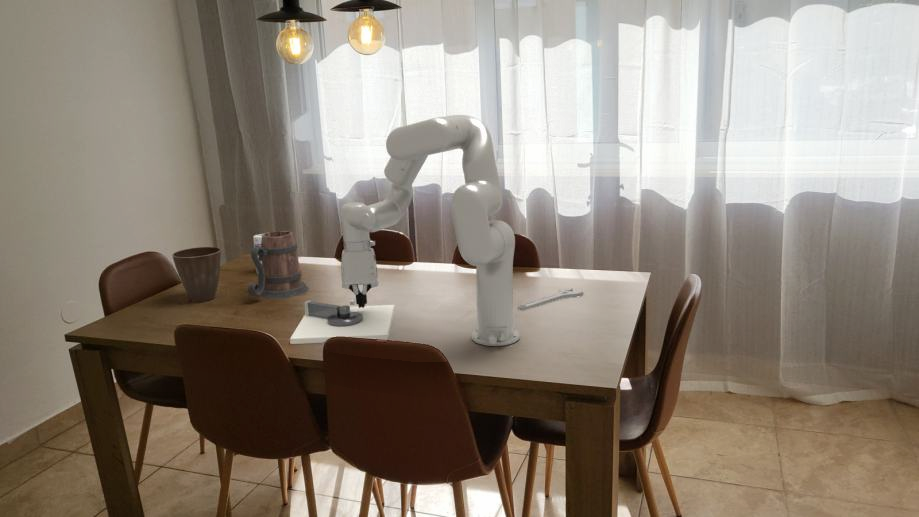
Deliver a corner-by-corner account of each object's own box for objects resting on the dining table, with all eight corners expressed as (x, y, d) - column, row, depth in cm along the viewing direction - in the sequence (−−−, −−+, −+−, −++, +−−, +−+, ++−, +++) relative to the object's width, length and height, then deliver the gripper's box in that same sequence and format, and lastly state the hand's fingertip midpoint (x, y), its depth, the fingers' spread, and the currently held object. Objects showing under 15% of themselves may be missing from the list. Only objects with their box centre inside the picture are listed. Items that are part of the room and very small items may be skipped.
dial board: (387, 340, 188) (386, 331, 188) (290, 344, 188) (289, 335, 187) (395, 304, 218) (395, 297, 217) (311, 308, 218) (311, 300, 217)
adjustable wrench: (522, 312, 208) (522, 307, 207) (509, 307, 213) (509, 301, 213) (586, 296, 220) (586, 290, 220) (572, 291, 226) (572, 286, 225)
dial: (370, 317, 202) (369, 304, 201) (348, 328, 194) (346, 314, 193) (319, 308, 212) (318, 296, 211) (296, 319, 203) (294, 305, 202)
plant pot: (170, 300, 232) (163, 253, 228) (212, 289, 243) (206, 244, 239) (192, 308, 222) (185, 259, 218) (235, 297, 233) (229, 250, 229)
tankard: (280, 282, 248) (274, 227, 243) (318, 286, 241) (313, 229, 236) (232, 301, 228) (225, 241, 223) (273, 307, 221) (266, 245, 216)
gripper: (384, 241, 206) (388, 301, 210) (333, 244, 206) (338, 303, 210) (381, 247, 199) (386, 309, 203) (329, 249, 198) (334, 311, 203)
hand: (362, 306), depth 207 cm, fingers closed
